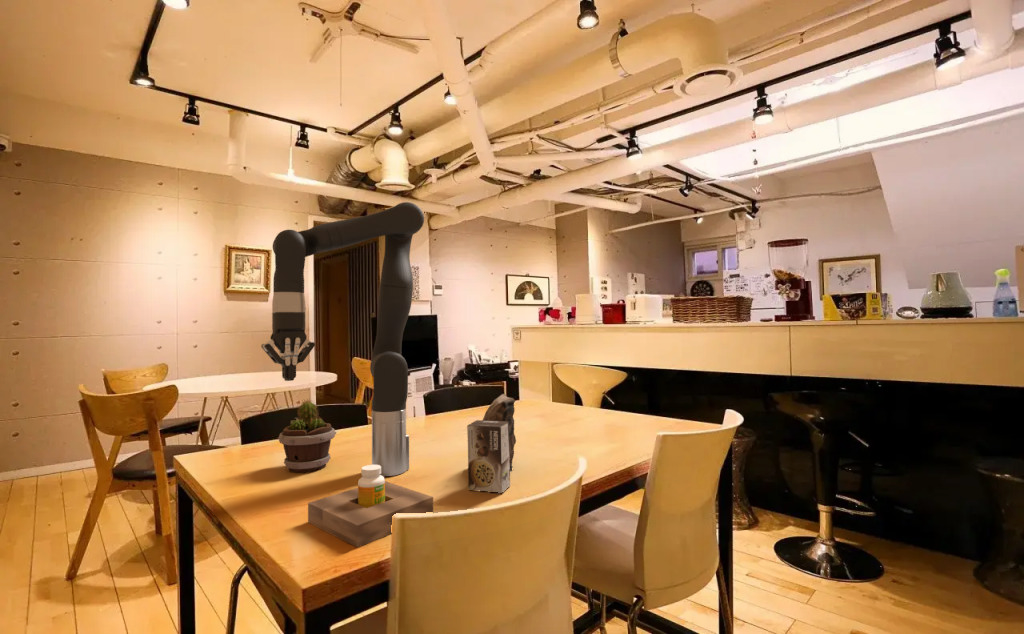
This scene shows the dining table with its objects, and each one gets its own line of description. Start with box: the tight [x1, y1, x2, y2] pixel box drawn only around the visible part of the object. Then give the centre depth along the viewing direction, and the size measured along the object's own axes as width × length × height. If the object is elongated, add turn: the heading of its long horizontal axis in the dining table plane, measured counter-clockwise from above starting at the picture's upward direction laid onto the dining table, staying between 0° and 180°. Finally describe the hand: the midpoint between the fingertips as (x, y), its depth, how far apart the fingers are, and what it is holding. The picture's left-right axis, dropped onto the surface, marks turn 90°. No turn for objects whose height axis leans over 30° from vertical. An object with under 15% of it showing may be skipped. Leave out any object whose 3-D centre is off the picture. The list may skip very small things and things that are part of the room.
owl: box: [482, 393, 517, 472], centre depth 133 cm, size 13×13×20 cm
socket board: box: [307, 480, 434, 548], centre depth 98 cm, size 18×18×4 cm
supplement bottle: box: [357, 464, 386, 508], centre depth 98 cm, size 5×5×10 cm
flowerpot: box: [277, 399, 337, 473], centre depth 135 cm, size 14×15×20 cm
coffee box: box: [466, 419, 511, 494], centre depth 116 cm, size 9×6×16 cm
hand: (289, 380), depth 117 cm, fingers closed
